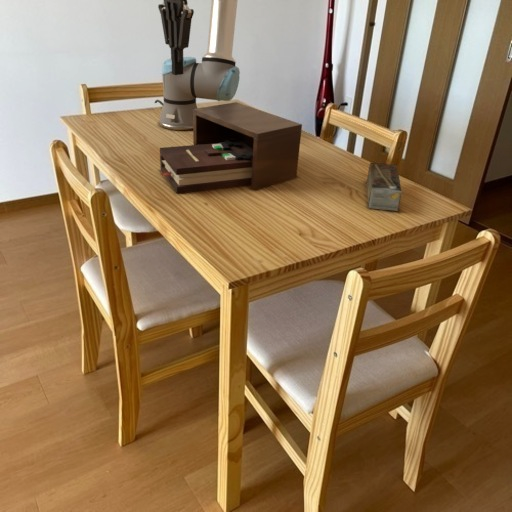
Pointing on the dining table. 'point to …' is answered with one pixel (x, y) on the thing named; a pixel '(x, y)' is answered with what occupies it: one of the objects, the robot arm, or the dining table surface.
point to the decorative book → (207, 166)
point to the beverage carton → (383, 186)
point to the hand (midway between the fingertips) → (177, 74)
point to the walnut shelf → (253, 138)
